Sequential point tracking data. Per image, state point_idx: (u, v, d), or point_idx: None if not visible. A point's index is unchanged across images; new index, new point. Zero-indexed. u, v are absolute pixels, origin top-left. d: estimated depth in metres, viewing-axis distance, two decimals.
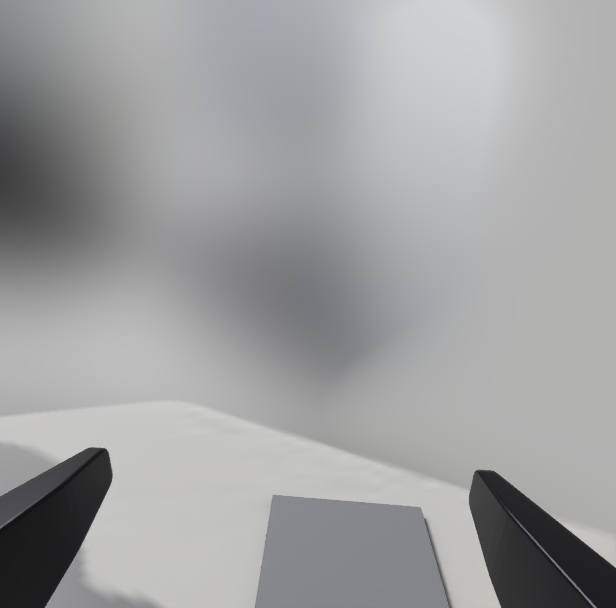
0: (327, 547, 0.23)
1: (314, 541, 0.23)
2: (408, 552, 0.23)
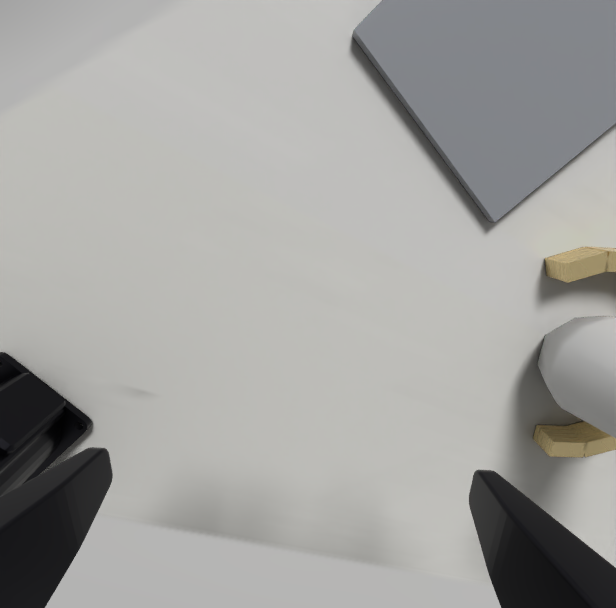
0: None
1: None
2: (613, 79, 0.16)
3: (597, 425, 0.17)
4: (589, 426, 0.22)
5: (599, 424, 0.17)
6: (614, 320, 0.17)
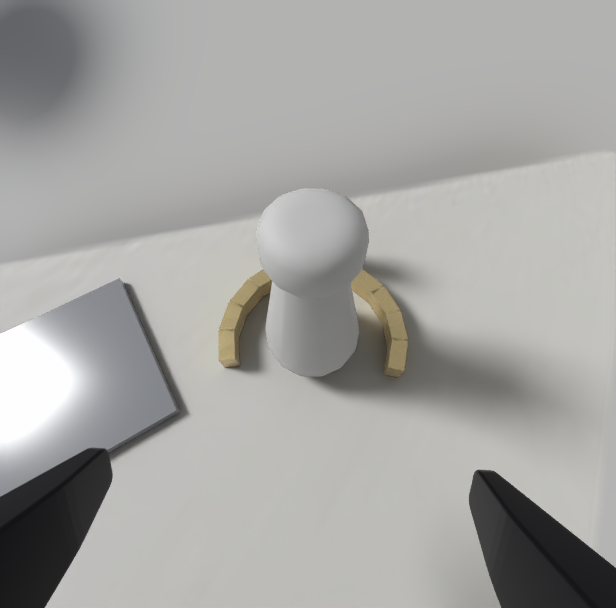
0: (33, 367, 0.23)
1: (19, 370, 0.23)
2: (112, 327, 0.24)
3: (337, 351, 0.19)
4: (385, 330, 0.24)
5: (334, 351, 0.19)
6: (265, 328, 0.22)
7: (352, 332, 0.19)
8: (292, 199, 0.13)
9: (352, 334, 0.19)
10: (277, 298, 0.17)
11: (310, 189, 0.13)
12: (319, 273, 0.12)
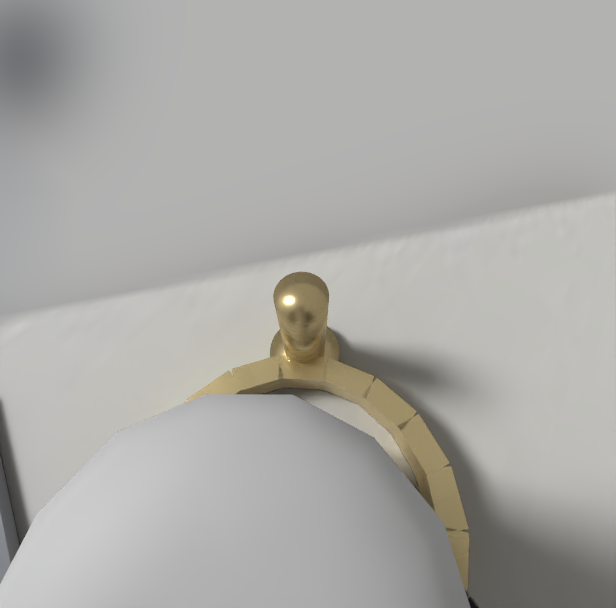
0: None
1: None
2: None
3: None
4: (422, 494, 0.14)
5: None
6: None
7: None
8: (134, 504, 0.03)
9: None
10: None
11: (225, 433, 0.03)
12: None
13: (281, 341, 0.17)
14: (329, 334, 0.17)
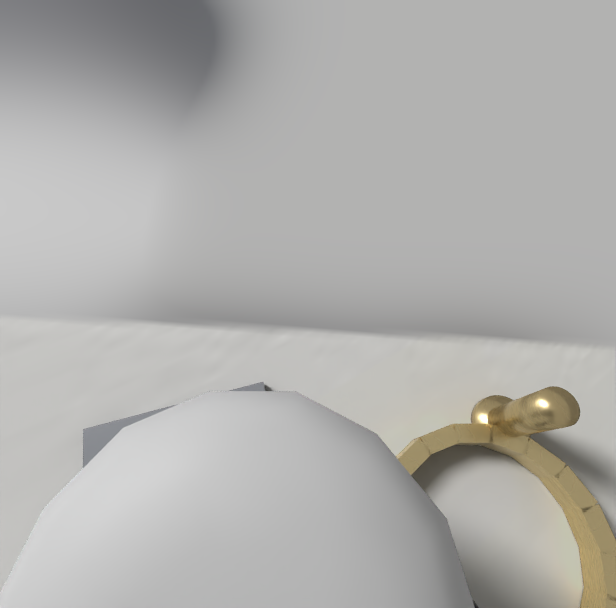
0: None
1: None
2: None
3: None
4: (586, 564, 0.18)
5: None
6: None
7: None
8: (140, 499, 0.03)
9: None
10: None
11: (230, 429, 0.03)
12: None
13: (484, 409, 0.21)
14: None
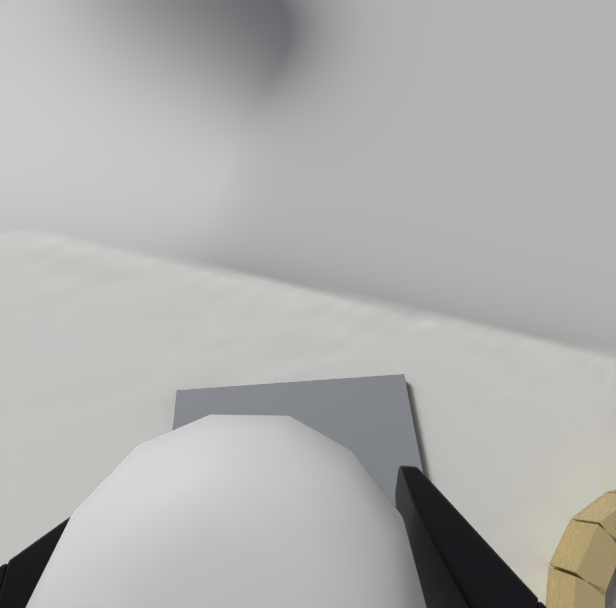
0: None
1: None
2: (381, 454, 0.16)
3: None
4: None
5: None
6: None
7: None
8: (152, 506, 0.04)
9: None
10: None
11: (225, 448, 0.04)
12: None
13: None
14: None
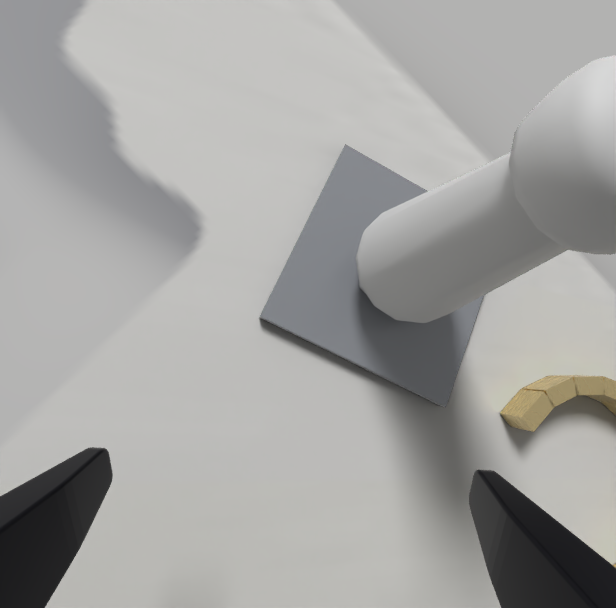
0: None
1: (373, 218, 0.20)
2: None
3: (446, 308, 0.15)
4: None
5: (444, 306, 0.15)
6: (366, 230, 0.17)
7: (477, 297, 0.15)
8: None
9: (474, 299, 0.15)
10: (455, 207, 0.11)
11: None
12: None
13: None
14: None
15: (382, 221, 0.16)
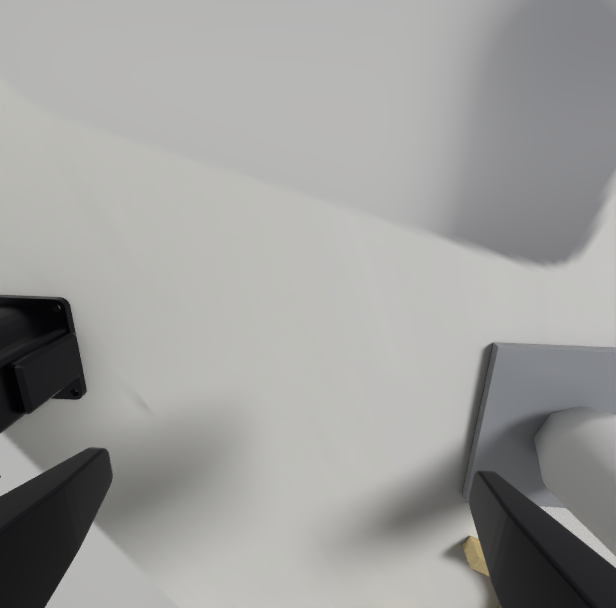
0: None
1: None
2: None
3: (579, 516, 0.17)
4: None
5: (582, 516, 0.17)
6: None
7: (599, 539, 0.17)
8: None
9: (595, 535, 0.17)
10: None
11: None
12: None
13: None
14: None
15: None
